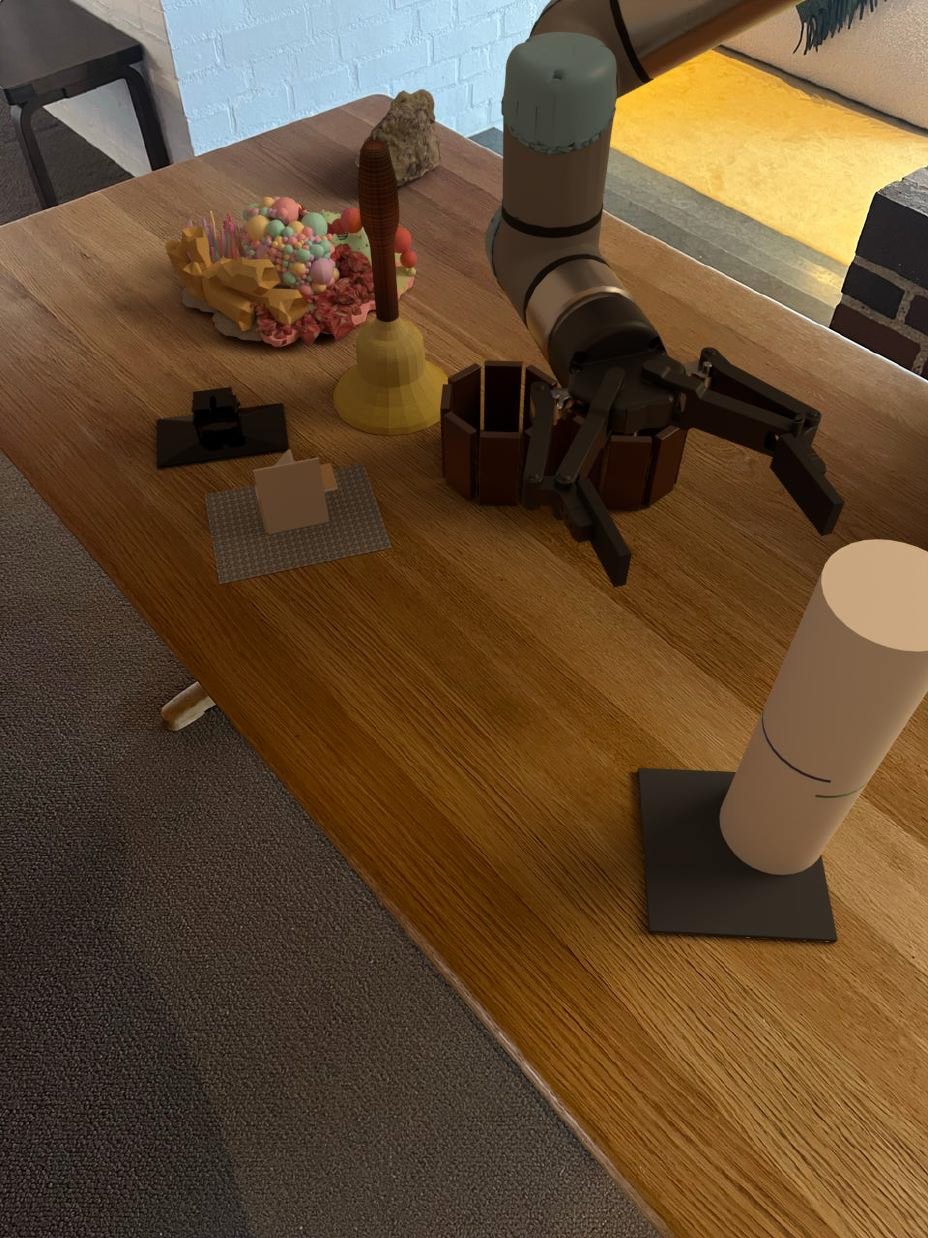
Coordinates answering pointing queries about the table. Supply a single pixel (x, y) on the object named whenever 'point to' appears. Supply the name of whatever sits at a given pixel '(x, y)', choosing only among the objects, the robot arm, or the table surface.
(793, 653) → the cylindrical container
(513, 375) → the holder
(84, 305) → the table surface
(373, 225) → the handbell
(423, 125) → the mineral rock
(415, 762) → the table surface
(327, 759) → the table surface
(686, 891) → the mat
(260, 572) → the architectural model
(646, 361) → the robot arm
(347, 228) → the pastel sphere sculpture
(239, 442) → the build plate
